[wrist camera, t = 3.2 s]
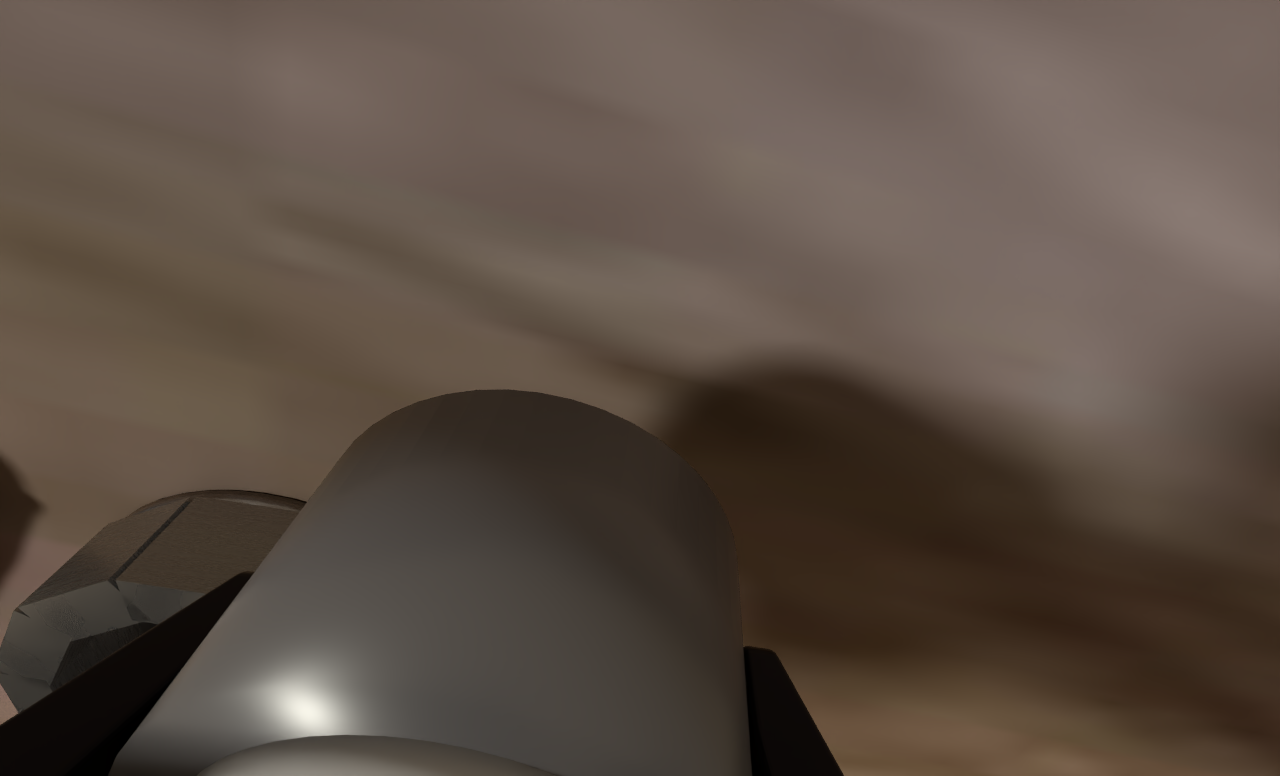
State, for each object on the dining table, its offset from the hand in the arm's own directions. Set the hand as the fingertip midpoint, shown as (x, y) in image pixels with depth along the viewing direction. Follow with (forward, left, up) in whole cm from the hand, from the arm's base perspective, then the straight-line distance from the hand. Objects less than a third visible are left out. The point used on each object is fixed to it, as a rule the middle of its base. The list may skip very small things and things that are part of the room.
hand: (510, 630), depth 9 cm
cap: (0, 0, -1) cm, 1 cm away
